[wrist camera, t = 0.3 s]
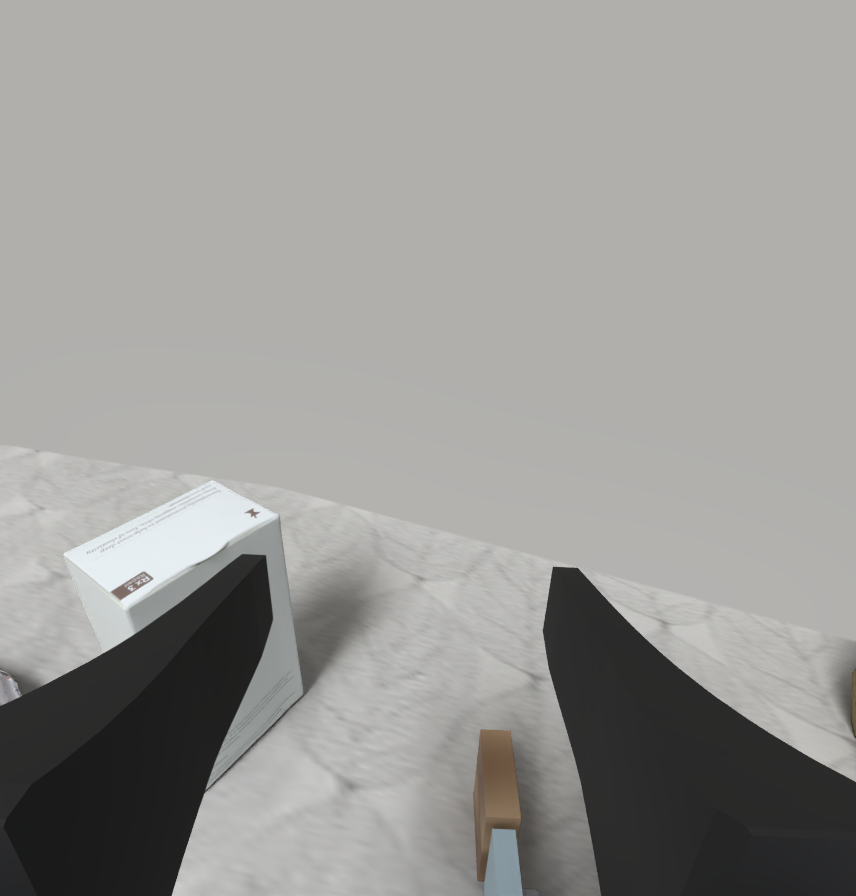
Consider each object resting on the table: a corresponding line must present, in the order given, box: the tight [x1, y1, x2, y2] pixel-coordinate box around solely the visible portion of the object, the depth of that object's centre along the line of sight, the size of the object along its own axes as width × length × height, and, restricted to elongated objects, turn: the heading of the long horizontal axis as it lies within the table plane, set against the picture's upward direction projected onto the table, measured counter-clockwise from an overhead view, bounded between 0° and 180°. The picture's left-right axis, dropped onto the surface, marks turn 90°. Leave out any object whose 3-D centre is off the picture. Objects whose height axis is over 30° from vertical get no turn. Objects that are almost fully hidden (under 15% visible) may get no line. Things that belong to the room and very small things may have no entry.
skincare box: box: [63, 480, 303, 791], centre depth 28 cm, size 8×6×15 cm
